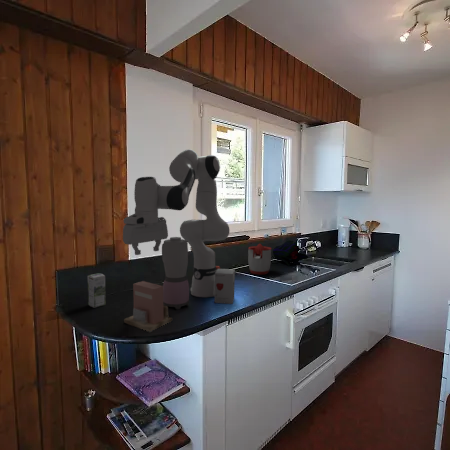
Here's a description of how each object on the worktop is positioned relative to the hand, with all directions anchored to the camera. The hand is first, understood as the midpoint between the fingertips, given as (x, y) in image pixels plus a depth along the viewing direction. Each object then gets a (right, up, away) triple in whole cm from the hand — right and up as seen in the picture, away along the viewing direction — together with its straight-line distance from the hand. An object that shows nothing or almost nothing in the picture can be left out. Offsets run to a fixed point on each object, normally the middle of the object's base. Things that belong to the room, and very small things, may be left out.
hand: (147, 252), depth 120 cm
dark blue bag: (+82, -19, +109) cm, 137 cm away
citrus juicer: (+54, -21, +82) cm, 100 cm away
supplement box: (+31, -27, +29) cm, 50 cm away
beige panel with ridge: (0, -29, +3) cm, 29 cm away
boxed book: (0, -27, +3) cm, 27 cm away
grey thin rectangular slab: (-3, -27, -1) cm, 27 cm away
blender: (+7, -27, +24) cm, 36 cm away
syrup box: (-29, -27, +21) cm, 45 cm away
